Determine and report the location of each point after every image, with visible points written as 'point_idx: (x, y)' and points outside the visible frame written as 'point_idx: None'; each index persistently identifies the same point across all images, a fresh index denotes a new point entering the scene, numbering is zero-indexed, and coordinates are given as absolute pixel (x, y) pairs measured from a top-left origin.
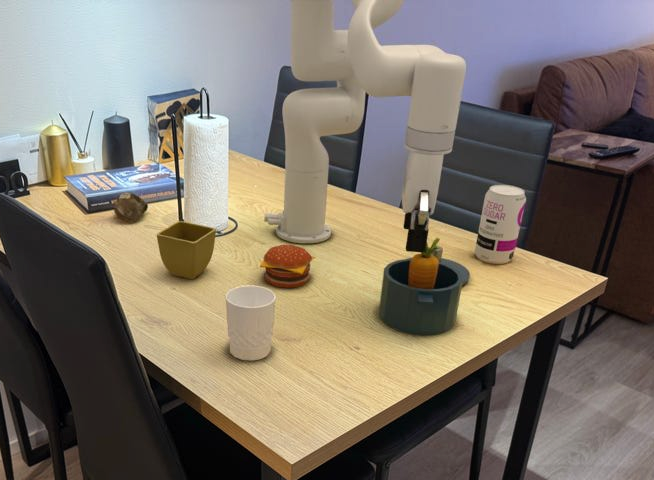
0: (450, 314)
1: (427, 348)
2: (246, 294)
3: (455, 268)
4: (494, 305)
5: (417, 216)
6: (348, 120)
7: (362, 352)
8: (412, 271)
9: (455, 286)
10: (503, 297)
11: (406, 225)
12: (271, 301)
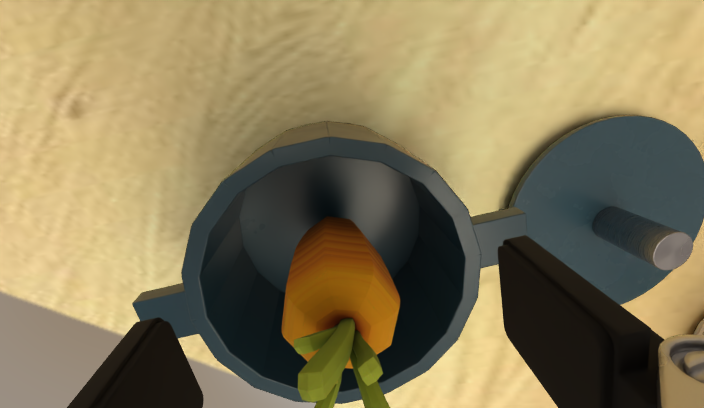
0: None
1: (179, 274)
2: None
3: (630, 273)
4: (459, 367)
5: (555, 373)
6: None
7: (62, 130)
8: (301, 262)
9: (278, 394)
10: (506, 378)
11: (508, 265)
12: None
